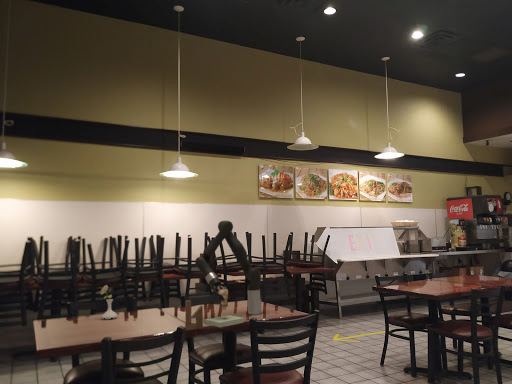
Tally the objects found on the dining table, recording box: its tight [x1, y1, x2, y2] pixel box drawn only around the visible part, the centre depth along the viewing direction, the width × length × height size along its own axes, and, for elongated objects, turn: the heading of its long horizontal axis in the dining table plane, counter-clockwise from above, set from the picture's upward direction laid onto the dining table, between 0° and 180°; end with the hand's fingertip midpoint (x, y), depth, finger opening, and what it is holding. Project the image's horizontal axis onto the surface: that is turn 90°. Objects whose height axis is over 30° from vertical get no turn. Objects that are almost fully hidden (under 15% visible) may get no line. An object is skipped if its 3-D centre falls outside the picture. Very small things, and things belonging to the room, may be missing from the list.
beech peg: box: [220, 288, 229, 311], centre depth 283 cm, size 5×5×13 cm
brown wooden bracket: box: [184, 299, 204, 332], centre depth 267 cm, size 4×11×18 cm, turn 113°
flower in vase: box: [99, 284, 119, 320], centre depth 313 cm, size 13×11×25 cm
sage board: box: [205, 314, 245, 328], centre depth 281 cm, size 20×16×3 cm
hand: (226, 299), depth 282 cm, fingers closed on beech peg, 5 cm apart
